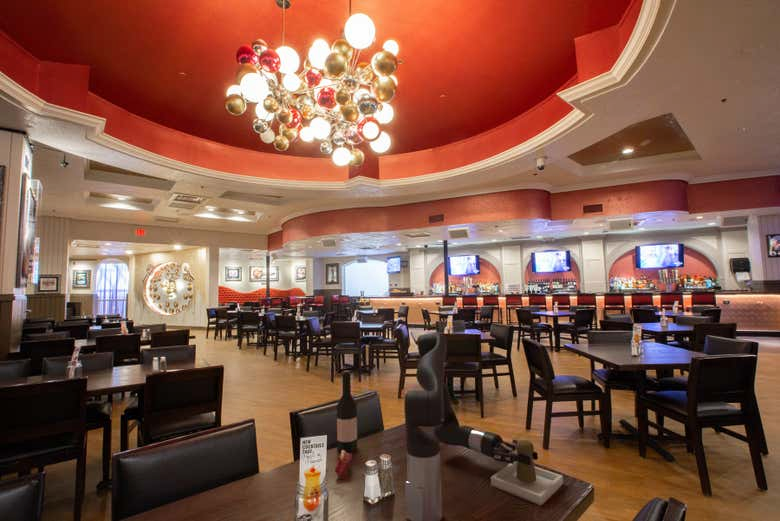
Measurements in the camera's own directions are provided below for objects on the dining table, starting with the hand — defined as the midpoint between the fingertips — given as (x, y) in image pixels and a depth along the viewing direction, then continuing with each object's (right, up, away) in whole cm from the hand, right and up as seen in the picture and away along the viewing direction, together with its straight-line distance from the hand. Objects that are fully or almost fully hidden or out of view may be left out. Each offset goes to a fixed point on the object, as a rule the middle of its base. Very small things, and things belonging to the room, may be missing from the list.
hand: (533, 458), depth 115 cm
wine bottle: (-61, -13, +31) cm, 70 cm away
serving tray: (-2, -9, +1) cm, 9 cm away
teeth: (-65, -11, +12) cm, 67 cm away
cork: (-2, -7, +1) cm, 7 cm away
